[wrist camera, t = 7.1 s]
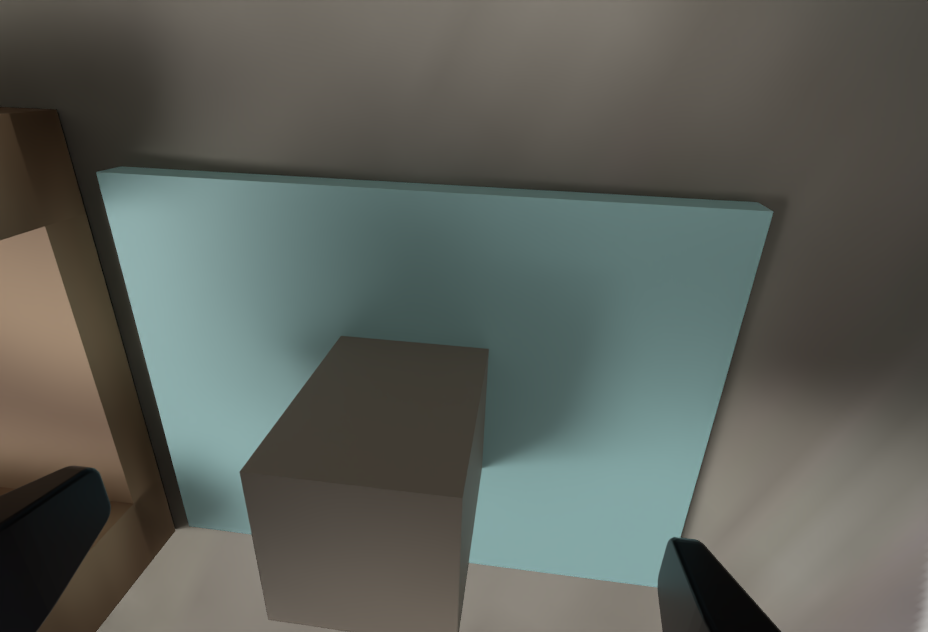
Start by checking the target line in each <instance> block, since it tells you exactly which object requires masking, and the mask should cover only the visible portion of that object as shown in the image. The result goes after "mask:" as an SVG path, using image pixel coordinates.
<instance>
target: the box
mask: <svg viewBox="0 0 928 632" xmlns="http://www.w3.org/2000/svg"><path fill="white" fill-rule="evenodd" d="M67 466H83V467H91V468H95V469H96V470H97V471H99V473H100V475H101V478H102V480H103V483H104V486H105V489H106V492H107V495H108V498H109V501H110V504H111V512H110V516H109V518H108V521H107V522H106V524H105V526H104V527H103V529H102V531H101V532H100V534H99V535H98V537H97V539H96V540H95V542H94V544H93V545H92V547H91V548H90V550H89V552H88V553H87V555H86V556H85V558H84V560H83V561H82V563H81V565H80V566H79V568H78V569H77V571H76V573H75V574H74V576H73V578H72V579H71V581H70V582H69V584H68V586H67V587H66V589H65V590H64V592H63V594H62V595H61V597H60V599H59V600H58V602H57V603H56V605H55V606H54V608H53V609H52V611H51V612H50V614H49V615H48V617H47V618H46V620H45V621H44V622H43V624H42V625H41V627H40V628H39V630H38V631H37V632H96V631H97V630H98V629H99V627H100V626H101V625H102V623H103V622H104V621H105V620H106V618H107V617H108V616H109V615H110V613H111V612H112V611H113V609H114V608H115V607H116V606H117V604H118V603H119V602H120V601H121V599H122V598H123V597H124V595H125V594H126V593H127V592H128V590H129V589H130V588H131V587H132V585H133V584H134V583H135V581H136V580H137V579H138V578H139V576H140V575H141V574H142V573H143V571H144V570H145V569H146V567H147V566H148V565H149V564H150V562H151V561H152V560H153V559H154V557H155V556H156V555H157V553H158V552H159V551H160V550H161V548H162V547H163V546H164V545H165V543H166V542H167V541H168V539H169V538H170V537H171V536H172V534H173V533H174V532H175V528H174V524H173V521H172V517H171V513H170V510H169V506H168V503H167V499H166V496H165V492H164V489H163V485H162V482H161V478H160V475H159V471H158V467H157V464H156V460H155V457H154V453H153V450H152V446H151V443H150V439H149V436H148V432H147V428H146V425H145V421H144V418H143V414H142V411H141V407H140V404H139V400H138V397H137V393H136V389H135V386H134V382H133V379H132V375H131V372H130V368H129V365H128V361H127V358H126V354H125V350H124V347H123V343H122V340H121V336H120V333H119V329H118V326H117V322H116V319H115V315H114V312H113V308H112V304H111V301H110V297H109V294H108V290H107V287H106V283H105V280H104V276H103V273H102V269H101V265H100V262H99V258H98V255H97V251H96V248H95V244H94V241H93V237H92V234H91V230H90V226H89V223H88V219H87V216H86V212H85V209H84V205H83V202H82V198H81V195H80V191H79V187H78V184H77V180H76V177H75V173H74V170H73V166H72V163H71V159H70V156H69V152H68V148H67V145H66V141H65V138H64V134H63V131H62V127H61V124H60V120H59V117H58V113H57V110H55V109H33V108H11V107H0V496H1V495H3V494H5V493H8V492H10V491H12V490H14V489H17V488H19V487H21V486H23V485H26V484H28V483H30V482H32V481H35V480H37V479H39V478H41V477H44V476H46V475H48V474H50V473H53V472H55V471H57V470H59V469H62V468H64V467H67Z"/></svg>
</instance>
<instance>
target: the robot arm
mask: <svg viewBox="0 0 928 632" xmlns="http://www.w3.org/2000/svg"><path fill="white" fill-rule="evenodd" d="M110 512H111V504H110V501H109V498H108V495H107V492H106V489H105V486H104V483H103V480H102V478H101V475H100V473H99V471H97V470H96V469H95V468H91V467H83V466H67V467H64V468H62V469H59V470H57V471H55V472H53V473H50V474H48V475H46V476H44V477H41V478H39V479H37V480H35V481H32V482H30V483H28V484H26V485H23V486H21V487H19V488H17V489H14V490H12V491H10V492H8V493H5V494H3V495H1V496H0V632H37V631H38V630H39V628H40V627H41V625H42V624H43V622H44V621H45V620H46V618H47V617H48V615H49V614H50V612H51V611H52V609H53V608H54V606H55V605H56V603H57V602H58V600H59V599H60V597H61V595H62V594H63V592H64V590H65V589H66V587H67V586H68V584H69V582H70V581H71V579H72V578H73V576H74V574H75V573H76V571H77V569H78V568H79V566H80V565H81V563H82V561H83V560H84V558H85V556H86V555H87V553H88V552H89V550H90V548H91V547H92V545H93V544H94V542H95V540H96V539H97V537H98V535H99V534H100V532H101V531H102V529H103V527H104V526H105V524H106V522H107V521H108V518H109V516H110ZM658 597H659V606H660V614H661V622H662V630H663V632H781V631H780V630H779V629H778V627H777V626H776V625H775V624H774V623H773V622H772V621H771V620H770V618H769V617H768V616H767V615H766V614H765V613H764V612H763V611H762V609H761V608H760V607H759V606H758V605H757V604H756V603H755V602H754V600H753V599H752V598H751V597H750V596H749V595H748V594H747V593H746V591H745V590H744V589H743V588H742V587H741V586H740V585H739V584H738V582H737V581H736V580H735V579H734V578H733V577H732V576H731V575H730V573H729V572H728V571H727V570H726V569H725V568H724V567H723V565H722V564H721V563H720V562H719V561H718V560H717V559H716V558H715V556H714V555H713V554H712V553H711V552H710V551H709V550H708V549H707V547H706V546H705V545H704V544H703V543H701V542H700V541H698V540H695V539H687V538H678V537H672V538H670V539H669V541H668V542H667V545H666V549H665V553H664V556H663V560H662V564H661V567H660V571H659V575H658Z"/></svg>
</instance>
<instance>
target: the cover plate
mask: <svg viewBox="0 0 928 632" xmlns="http://www.w3.org/2000/svg"><path fill="white" fill-rule="evenodd" d="M96 174H97V178H98V182H99V186H100V189H101V193H102V197H103V201H104V205H105V208H106V212H107V216H108V220H109V224H110V227H111V231H112V235H113V239H114V243H115V246H116V250H117V254H118V258H119V262H120V265H121V269H122V273H123V277H124V281H125V284H126V288H127V292H128V296H129V299H130V303H131V307H132V311H133V315H134V318H135V322H136V326H137V330H138V334H139V337H140V341H141V345H142V349H143V353H144V356H145V360H146V364H147V368H148V372H149V375H150V379H151V383H152V387H153V391H154V394H155V398H156V402H157V406H158V410H159V413H160V417H161V421H162V425H163V429H164V432H165V436H166V440H167V444H168V448H169V451H170V455H171V459H172V463H173V467H174V470H175V474H176V478H177V482H178V486H179V489H180V493H181V497H182V501H183V505H184V508H185V512H186V516H187V520H188V524H189V526H191V527H199V528H207V529H214V530H222V531H230V532H237V533H245V534H252V539H253V544H254V549H255V554H256V559H257V564H258V569H259V574H260V580H261V585H262V590H263V595H264V600H265V605H266V610H267V615H268V620H274V621H281V622H287V623H294V624H301V625H308V626H314V627H321V628H328V629H335V630H342V631H348V632H459V627H460V620H461V613H462V606H463V599H464V592H465V585H466V578H467V571H468V564H469V563H475V564H482V565H490V566H498V567H505V568H513V569H521V570H528V571H536V572H543V573H551V574H559V575H566V576H574V577H582V578H589V579H597V580H605V581H612V582H620V583H628V584H635V585H643V586H651V587H658V575H659V571H660V567H661V564H662V560H663V556H664V553H665V549H666V545H667V542H668V541H669V539H670V538H672V537H678V538H680V537H681V533H682V530H683V526H684V523H685V519H686V516H687V512H688V509H689V505H690V502H691V498H692V495H693V491H694V488H695V484H696V481H697V477H698V474H699V470H700V467H701V463H702V460H703V456H704V453H705V449H706V446H707V442H708V439H709V435H710V432H711V428H712V425H713V421H714V418H715V414H716V411H717V407H718V404H719V400H720V397H721V393H722V390H723V386H724V383H725V379H726V376H727V372H728V369H729V365H730V362H731V358H732V355H733V352H734V348H735V345H736V341H737V338H738V334H739V331H740V327H741V324H742V320H743V317H744V313H745V310H746V306H747V303H748V299H749V296H750V292H751V289H752V285H753V282H754V278H755V275H756V271H757V268H758V264H759V261H760V257H761V254H762V250H763V247H764V243H765V240H766V236H767V233H768V229H769V226H770V222H771V219H772V215H773V211H772V210H770V209H768V208H766V207H765V206H763V205H761V204H760V203H758V202H743V201H725V200H707V199H690V198H672V197H654V196H636V195H619V194H601V193H583V192H566V191H548V190H530V189H512V188H495V187H477V186H459V185H441V184H424V183H406V182H388V181H371V180H353V179H335V178H317V177H300V176H282V175H264V174H246V173H229V172H211V171H193V170H176V169H158V168H140V167H122V166H120V167H116V168H112V169H107V170H103V171H98V172H96Z"/></svg>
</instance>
